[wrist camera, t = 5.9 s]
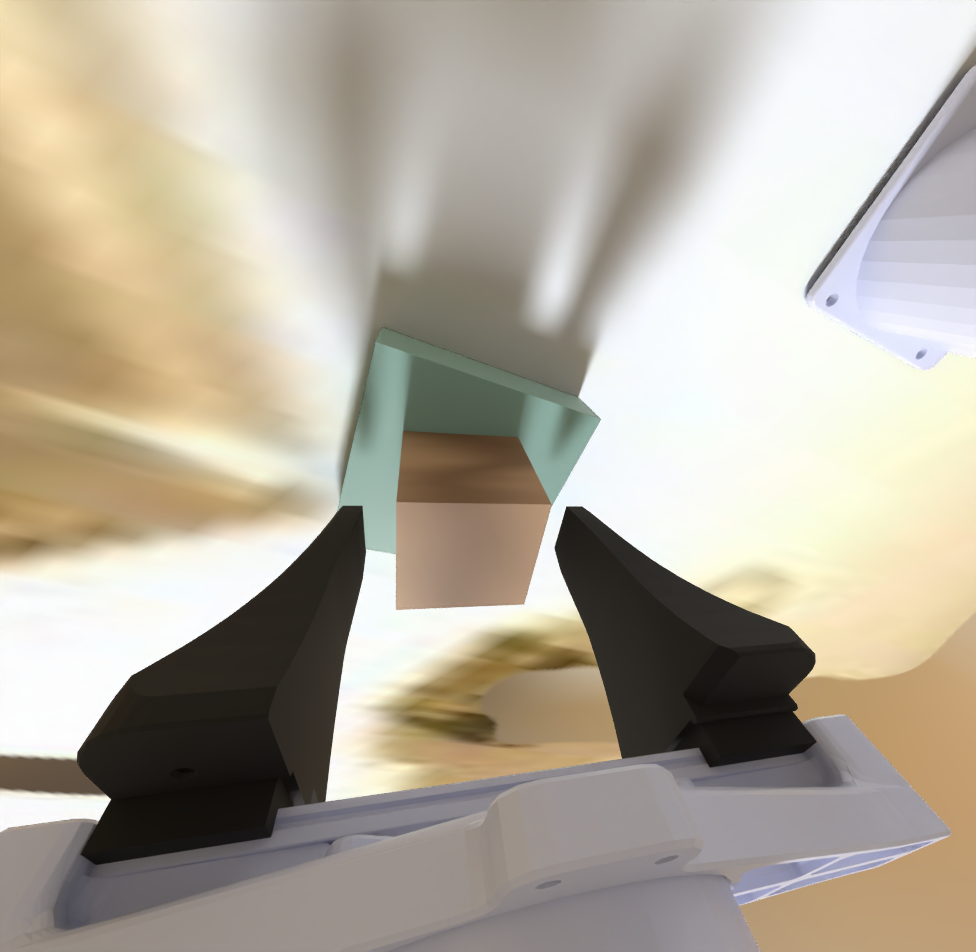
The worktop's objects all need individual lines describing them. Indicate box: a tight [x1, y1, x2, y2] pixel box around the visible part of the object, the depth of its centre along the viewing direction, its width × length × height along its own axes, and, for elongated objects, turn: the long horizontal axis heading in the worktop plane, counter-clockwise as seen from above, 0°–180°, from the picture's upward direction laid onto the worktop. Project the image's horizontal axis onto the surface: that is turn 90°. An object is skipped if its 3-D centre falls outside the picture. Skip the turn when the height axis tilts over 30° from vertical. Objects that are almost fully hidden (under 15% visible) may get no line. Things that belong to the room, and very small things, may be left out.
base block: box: [337, 327, 601, 554], centre depth 17 cm, size 9×9×3 cm
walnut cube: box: [396, 431, 552, 610], centre depth 13 cm, size 4×4×4 cm
